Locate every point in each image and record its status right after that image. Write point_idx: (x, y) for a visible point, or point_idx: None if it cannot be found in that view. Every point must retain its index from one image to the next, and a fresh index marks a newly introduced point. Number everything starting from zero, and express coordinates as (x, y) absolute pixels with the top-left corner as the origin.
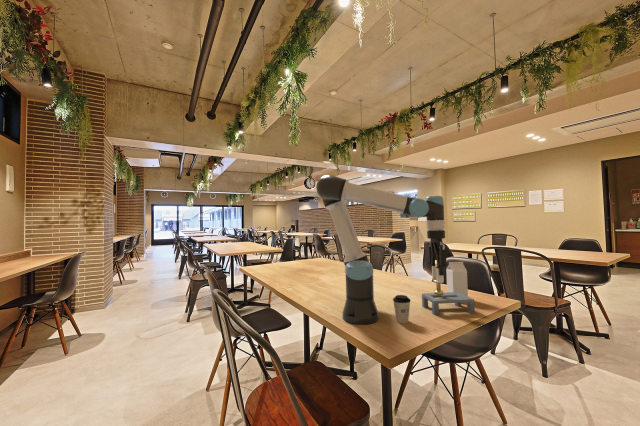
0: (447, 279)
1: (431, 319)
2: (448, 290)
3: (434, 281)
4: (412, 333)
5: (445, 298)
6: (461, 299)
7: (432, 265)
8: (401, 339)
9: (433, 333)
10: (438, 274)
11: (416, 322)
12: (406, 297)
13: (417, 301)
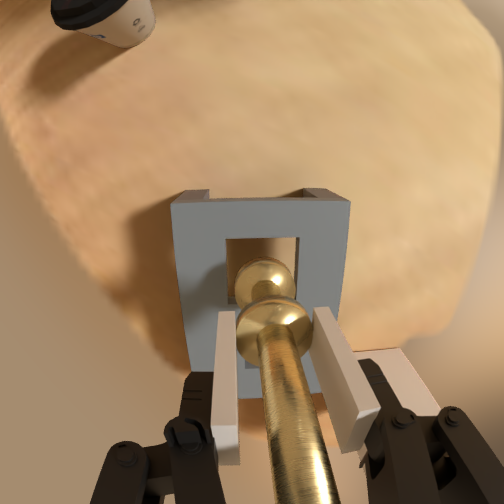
0: (427, 400)
1: (133, 153)
2: (402, 369)
3: (270, 302)
4: (33, 54)
5: (219, 294)
6: (194, 356)
7: (383, 418)
8: (14, 25)
9: (22, 120)
10: (215, 370)
11: (109, 78)
12: (60, 4)
13: (399, 202)
